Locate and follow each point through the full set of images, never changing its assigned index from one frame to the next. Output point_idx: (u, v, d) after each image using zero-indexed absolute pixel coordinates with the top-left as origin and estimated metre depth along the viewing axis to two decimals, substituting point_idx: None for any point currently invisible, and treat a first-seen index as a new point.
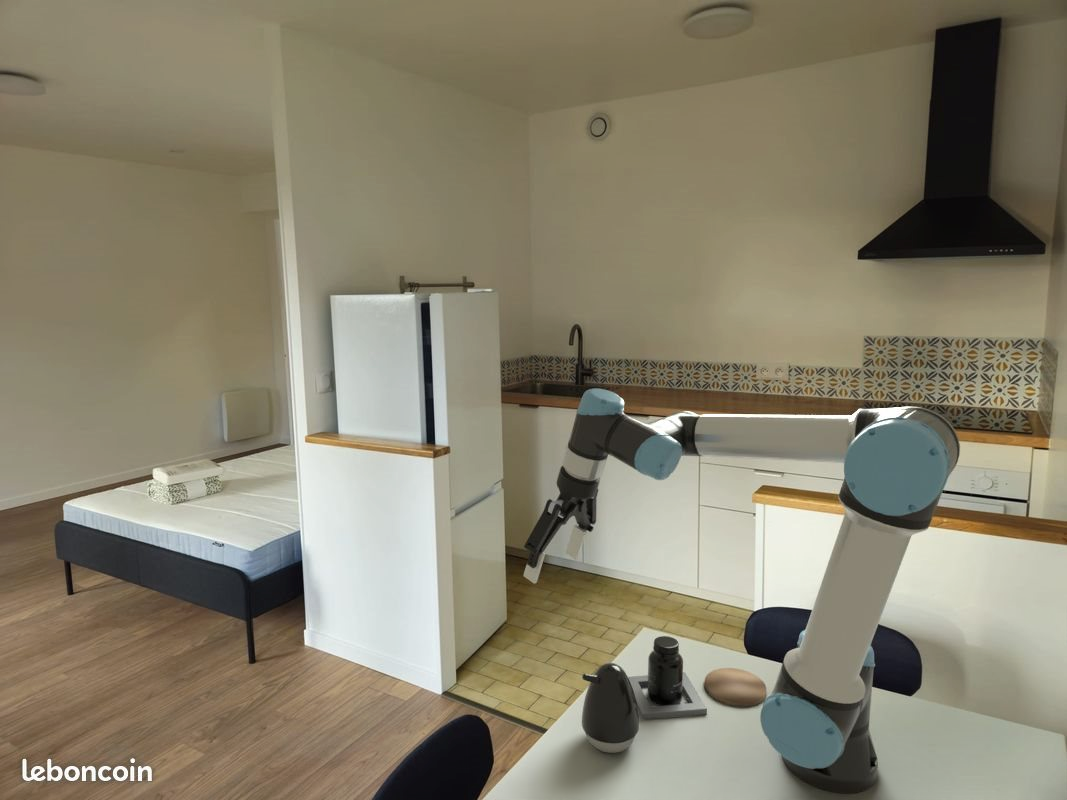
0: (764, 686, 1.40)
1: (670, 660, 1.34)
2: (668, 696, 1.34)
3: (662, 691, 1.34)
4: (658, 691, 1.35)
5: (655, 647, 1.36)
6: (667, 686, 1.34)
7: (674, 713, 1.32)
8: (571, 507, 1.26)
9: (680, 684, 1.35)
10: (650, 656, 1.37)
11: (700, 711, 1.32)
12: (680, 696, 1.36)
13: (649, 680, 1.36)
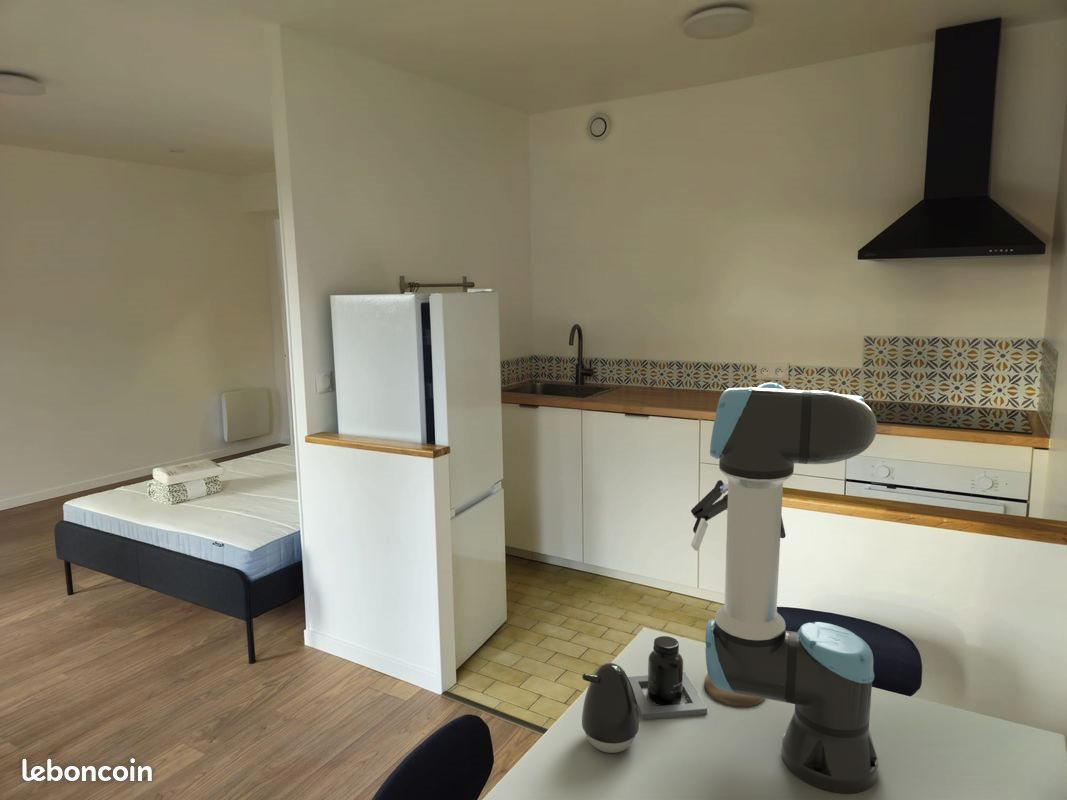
0: None
1: (670, 660, 1.34)
2: (668, 696, 1.34)
3: (662, 691, 1.34)
4: (658, 691, 1.35)
5: (655, 647, 1.36)
6: (667, 686, 1.34)
7: (674, 713, 1.32)
8: None
9: (680, 684, 1.35)
10: (650, 656, 1.37)
11: (700, 711, 1.32)
12: (680, 696, 1.36)
13: (649, 680, 1.36)
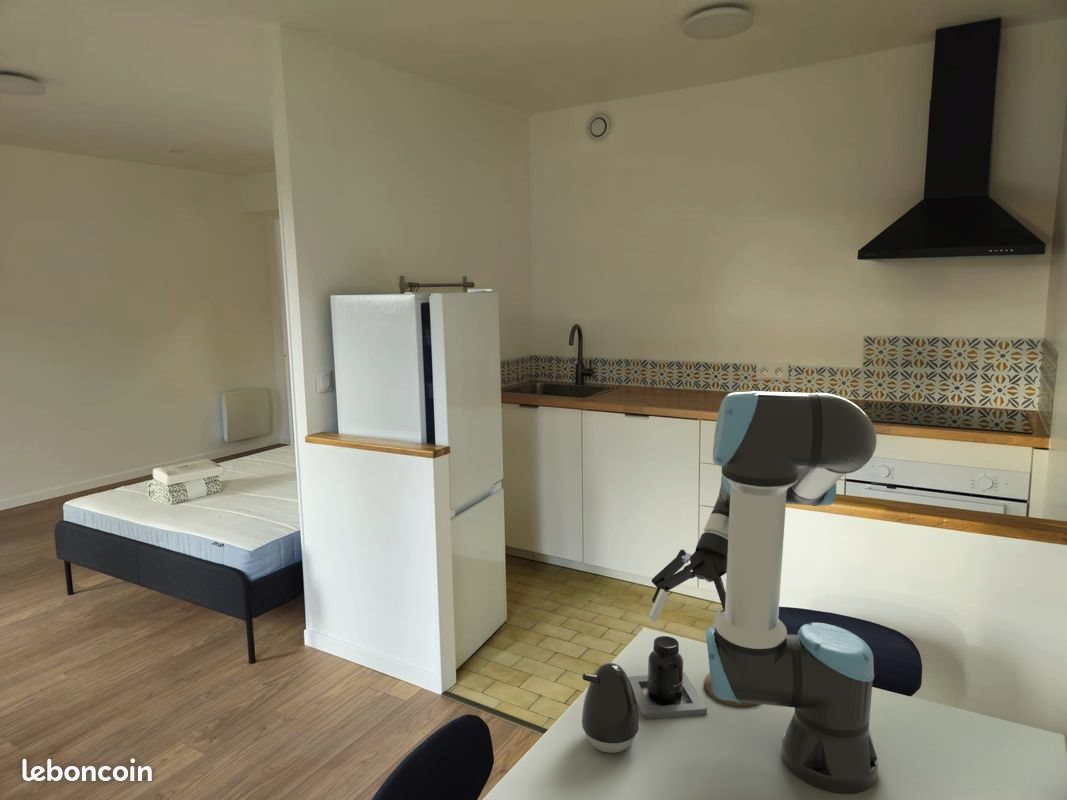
0: None
1: (670, 660, 1.34)
2: (668, 696, 1.34)
3: (662, 691, 1.34)
4: (658, 691, 1.35)
5: (655, 647, 1.36)
6: (667, 686, 1.34)
7: (674, 713, 1.32)
8: None
9: (680, 684, 1.35)
10: (650, 656, 1.37)
11: (700, 711, 1.32)
12: (680, 696, 1.36)
13: (649, 680, 1.36)
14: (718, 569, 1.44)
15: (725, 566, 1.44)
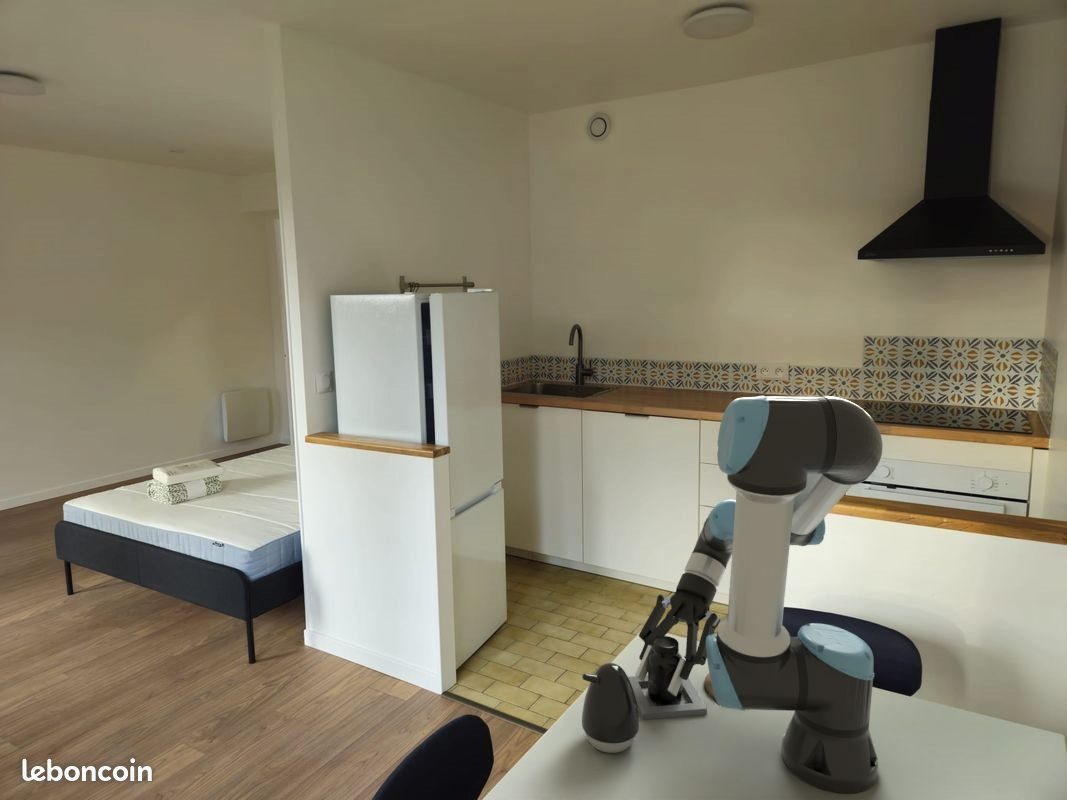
0: None
1: (670, 660, 1.34)
2: (668, 696, 1.34)
3: (662, 690, 1.34)
4: (658, 691, 1.35)
5: (655, 647, 1.36)
6: (667, 686, 1.34)
7: (674, 713, 1.32)
8: None
9: None
10: (650, 656, 1.37)
11: (700, 711, 1.32)
12: (680, 696, 1.36)
13: (649, 680, 1.36)
14: (697, 611, 1.39)
15: (705, 611, 1.38)
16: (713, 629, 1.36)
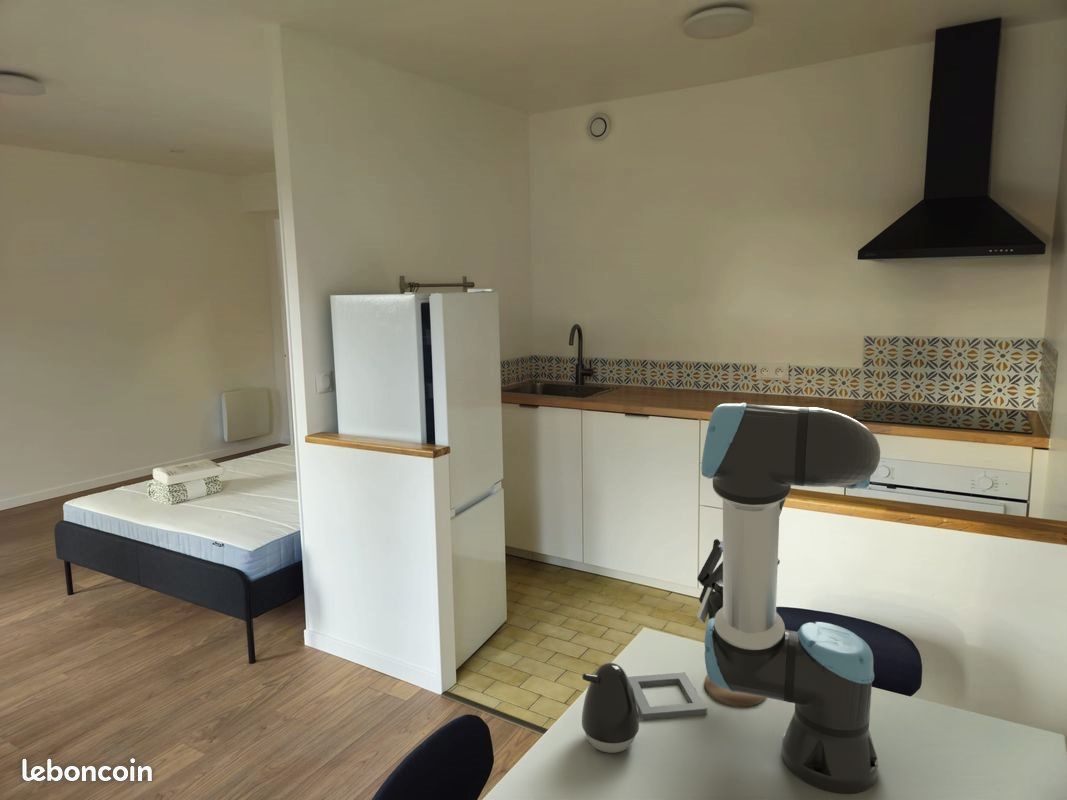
0: None
1: None
2: None
3: None
4: None
5: (716, 588, 1.36)
6: None
7: (674, 713, 1.32)
8: None
9: None
10: (711, 597, 1.37)
11: (700, 711, 1.32)
12: None
13: None
14: None
15: None
16: None
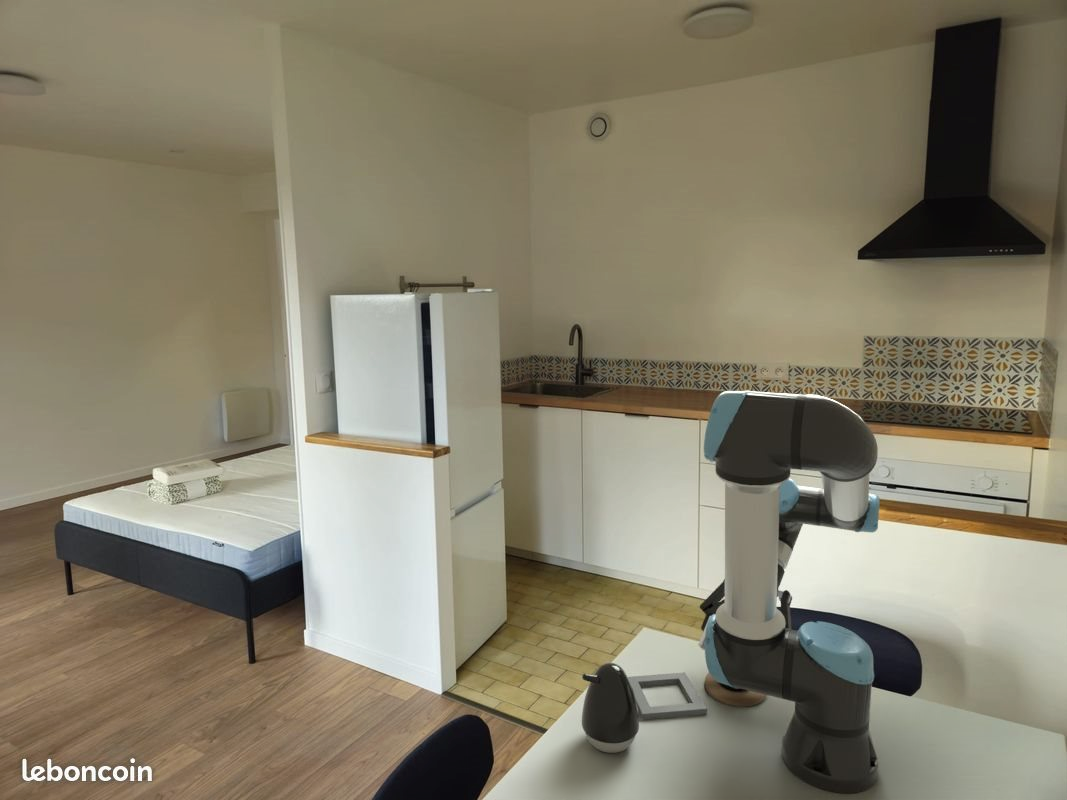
0: None
1: None
2: None
3: None
4: None
5: None
6: None
7: (674, 713, 1.32)
8: None
9: None
10: None
11: (700, 711, 1.32)
12: None
13: None
14: None
15: None
16: (789, 606, 1.39)
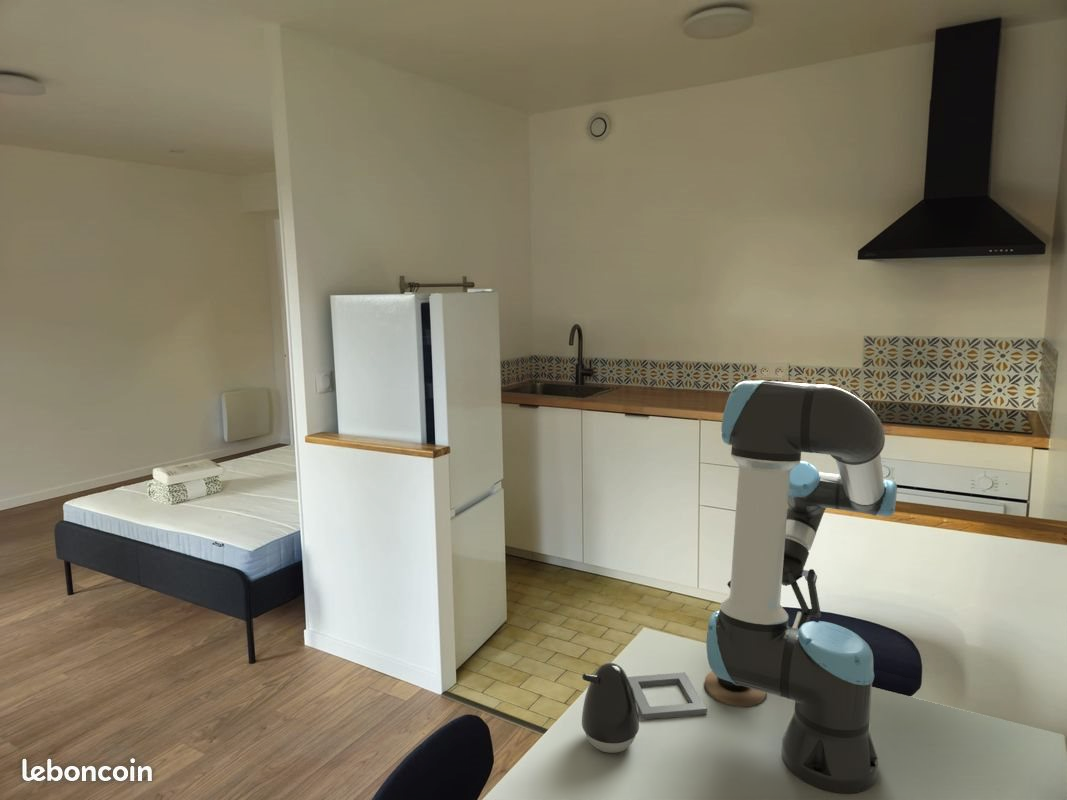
0: None
1: None
2: None
3: None
4: None
5: None
6: None
7: (674, 713, 1.32)
8: None
9: None
10: None
11: (700, 711, 1.32)
12: None
13: None
14: (794, 573, 1.50)
15: (801, 570, 1.50)
16: (814, 584, 1.48)
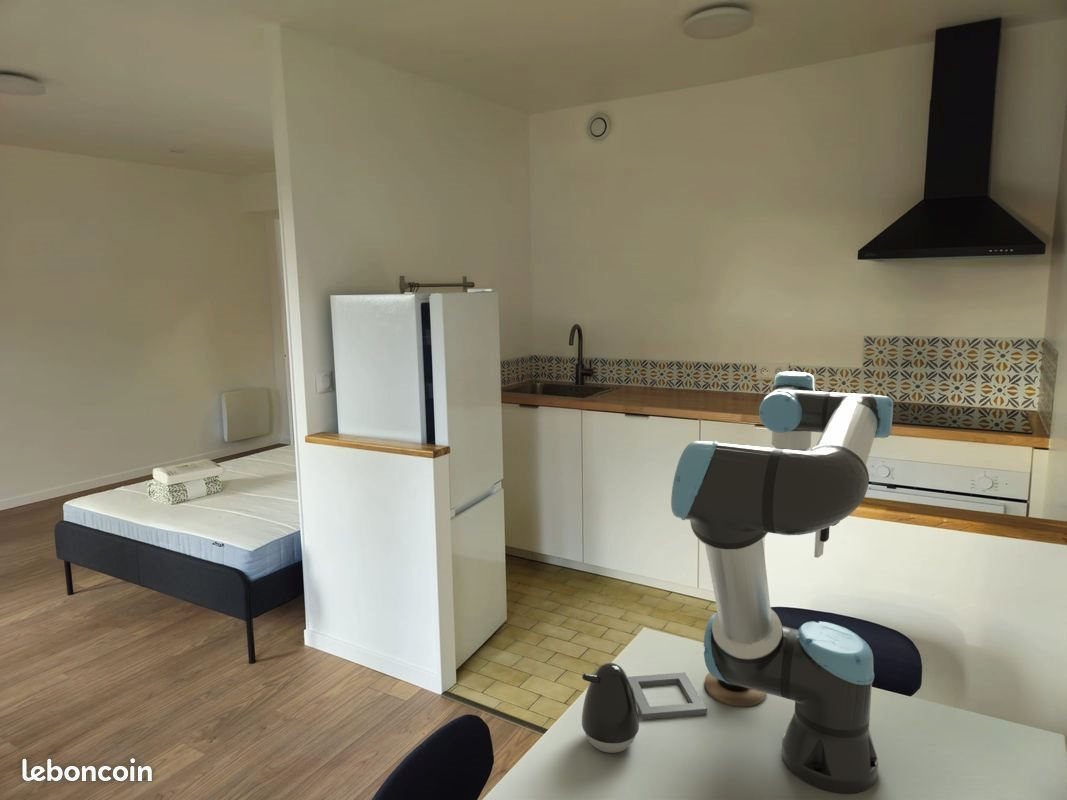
0: None
1: None
2: None
3: None
4: None
5: None
6: None
7: (674, 713, 1.32)
8: None
9: None
10: None
11: (700, 711, 1.32)
12: None
13: None
14: None
15: None
16: None
